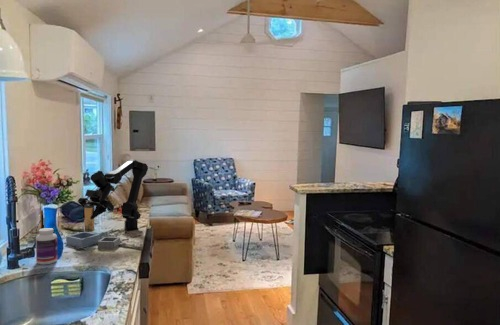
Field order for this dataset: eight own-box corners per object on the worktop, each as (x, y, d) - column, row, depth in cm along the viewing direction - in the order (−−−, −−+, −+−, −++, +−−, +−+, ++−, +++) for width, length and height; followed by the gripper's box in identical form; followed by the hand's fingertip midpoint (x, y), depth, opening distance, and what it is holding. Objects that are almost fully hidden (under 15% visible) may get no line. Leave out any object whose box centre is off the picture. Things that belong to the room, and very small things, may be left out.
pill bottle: (60, 262, 161) (59, 229, 160) (39, 267, 156) (38, 232, 154) (54, 257, 167) (53, 225, 166) (33, 261, 161) (33, 228, 160)
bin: (84, 238, 196) (84, 231, 196) (99, 242, 191) (99, 234, 191) (66, 244, 186) (66, 236, 186) (81, 247, 182) (81, 239, 181)
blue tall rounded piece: (70, 232, 207) (70, 196, 206) (56, 237, 198) (55, 199, 196) (50, 229, 212) (49, 194, 210) (35, 233, 203) (34, 197, 201)
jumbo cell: (95, 229, 189) (94, 204, 188) (93, 231, 185) (93, 205, 184) (85, 229, 188) (85, 204, 187) (83, 232, 184) (83, 206, 183)
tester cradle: (104, 243, 189) (104, 236, 189) (120, 244, 189) (120, 237, 189) (97, 248, 181) (97, 241, 181) (114, 249, 181) (114, 242, 181)
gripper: (80, 181, 191) (63, 207, 182) (110, 184, 185) (94, 211, 176) (91, 194, 199) (75, 219, 190) (120, 198, 193) (105, 223, 184)
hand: (87, 218), depth 185 cm, fingers closed on jumbo cell, 4 cm apart
